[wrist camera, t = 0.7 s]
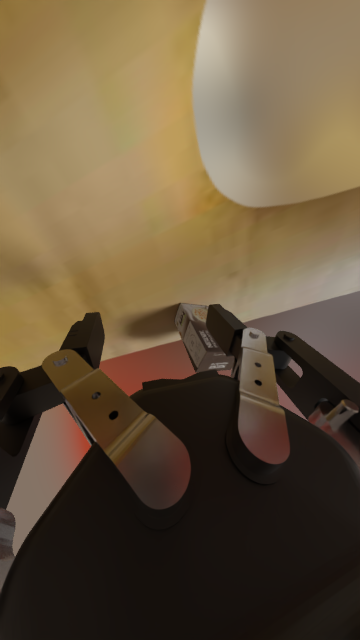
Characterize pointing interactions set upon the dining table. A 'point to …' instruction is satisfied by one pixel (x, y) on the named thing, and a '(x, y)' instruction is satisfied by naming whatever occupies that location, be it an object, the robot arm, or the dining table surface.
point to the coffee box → (200, 339)
